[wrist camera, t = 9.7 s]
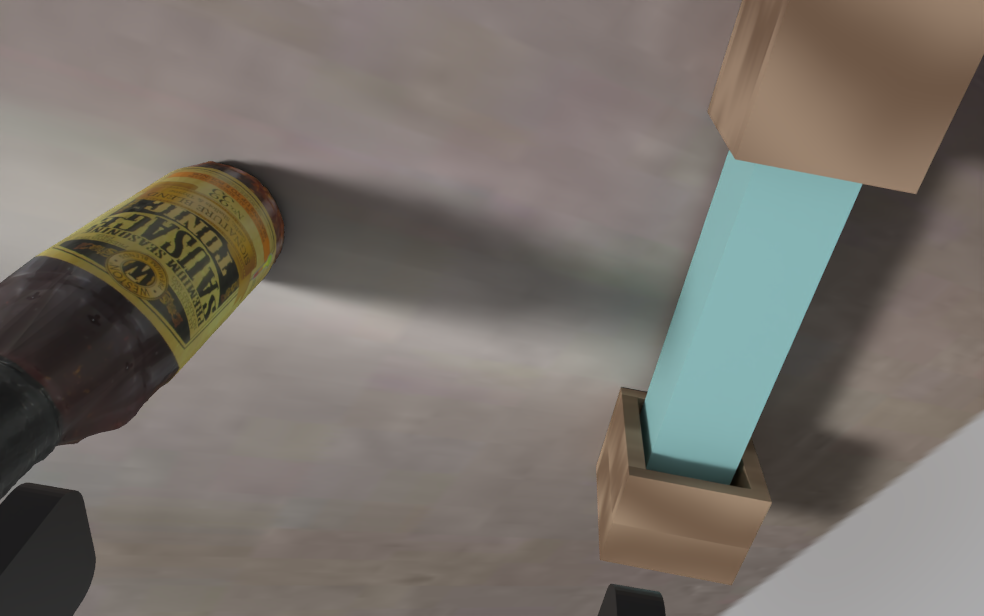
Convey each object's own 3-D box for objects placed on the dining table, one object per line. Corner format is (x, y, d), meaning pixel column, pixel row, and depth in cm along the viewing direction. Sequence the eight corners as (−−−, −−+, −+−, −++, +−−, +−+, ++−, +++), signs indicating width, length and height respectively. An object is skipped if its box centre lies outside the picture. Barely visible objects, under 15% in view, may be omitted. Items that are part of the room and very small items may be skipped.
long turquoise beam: (747, 96, 30) (769, 123, 27) (844, 114, 30) (879, 144, 27) (632, 436, 39) (638, 489, 36) (707, 450, 39) (720, 505, 36)
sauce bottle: (316, 218, 35) (72, 534, 18) (243, 297, 38) (-30, 638, 21) (202, 120, 34) (-189, 369, 16) (133, 210, 36) (-266, 507, 19)
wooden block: (784, -135, 27) (837, -139, 21) (959, -101, 27) (1057, -97, 21) (707, 112, 31) (735, 159, 26) (857, 140, 31) (915, 193, 26)
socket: (621, 387, 38) (629, 475, 33) (742, 410, 38) (772, 502, 33) (596, 466, 41) (599, 560, 36) (709, 488, 41) (731, 585, 36)
